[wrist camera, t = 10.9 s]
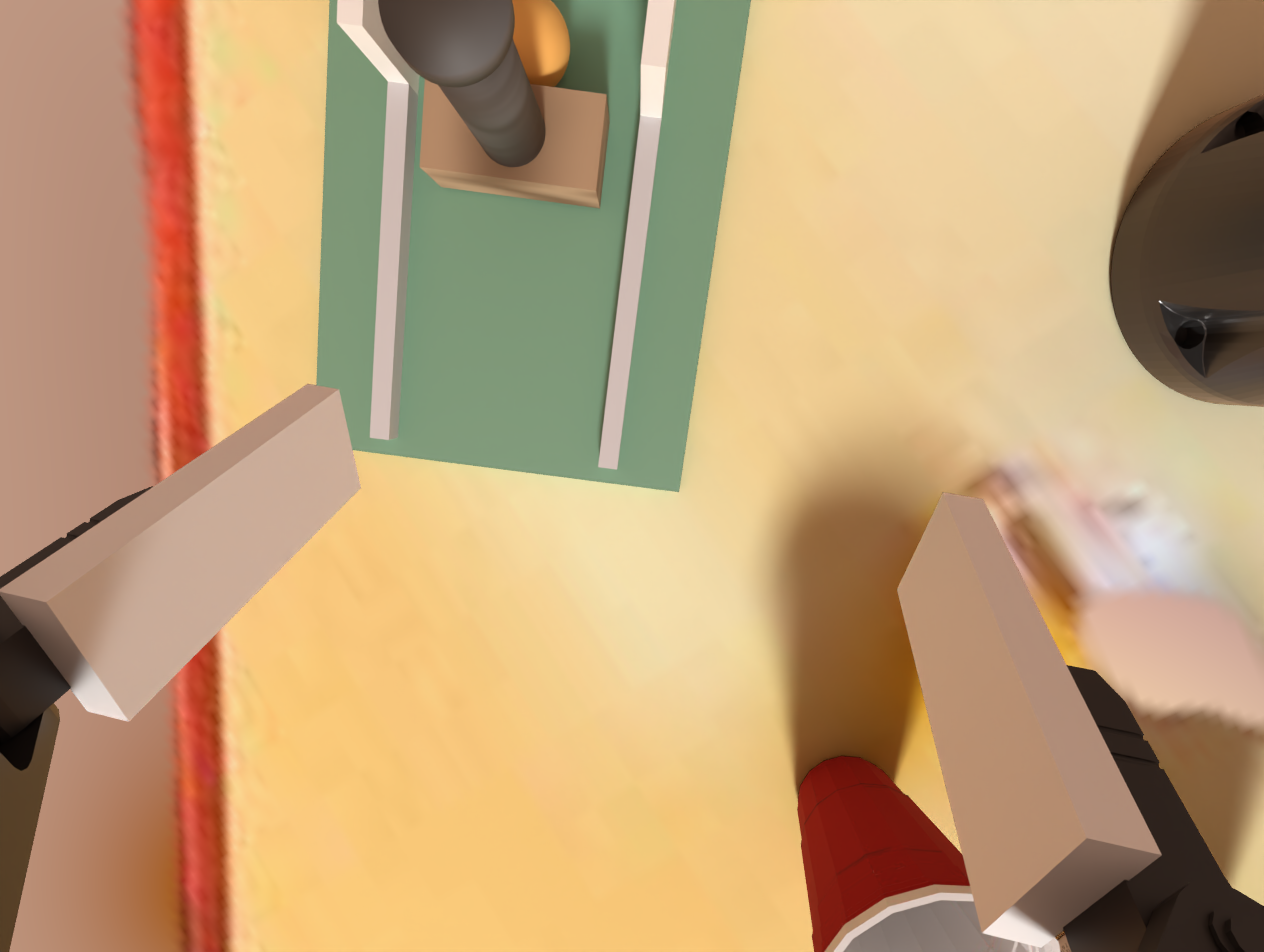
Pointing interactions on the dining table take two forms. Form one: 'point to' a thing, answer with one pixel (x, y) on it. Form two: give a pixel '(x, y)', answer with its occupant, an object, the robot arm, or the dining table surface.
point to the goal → (369, 35)
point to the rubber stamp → (496, 106)
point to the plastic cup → (884, 869)
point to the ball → (541, 41)
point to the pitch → (530, 266)
